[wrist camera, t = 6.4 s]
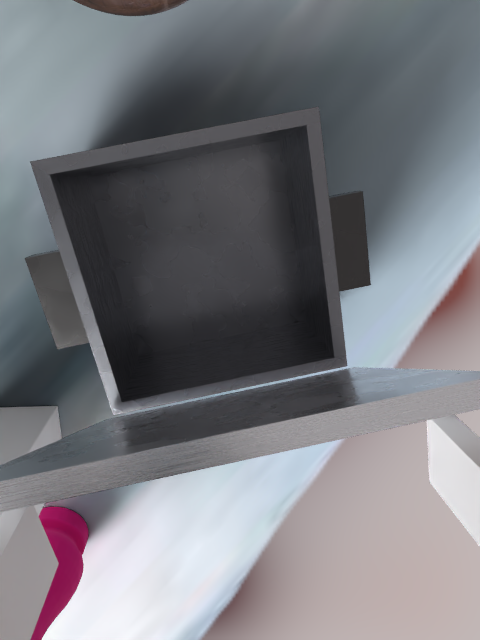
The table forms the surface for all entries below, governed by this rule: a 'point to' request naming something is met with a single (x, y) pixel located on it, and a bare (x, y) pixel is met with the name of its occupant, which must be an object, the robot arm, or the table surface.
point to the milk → (27, 432)
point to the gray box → (200, 259)
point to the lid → (234, 430)
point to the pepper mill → (62, 561)
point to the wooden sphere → (131, 6)
